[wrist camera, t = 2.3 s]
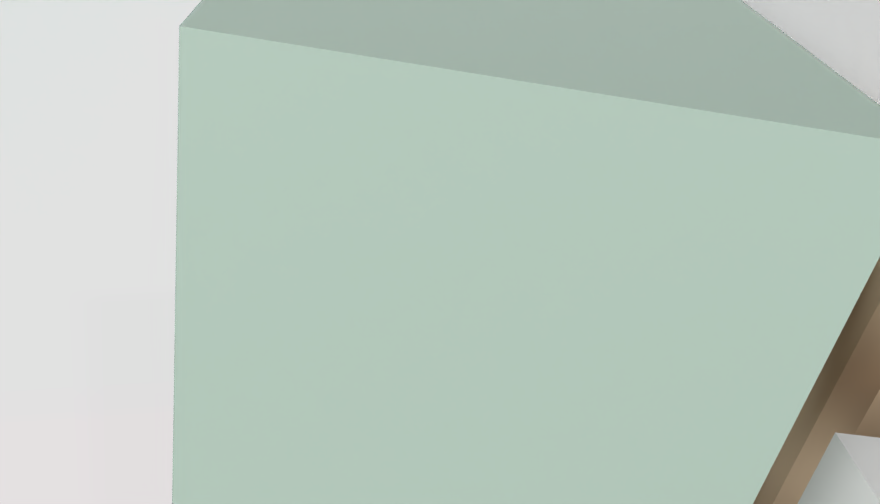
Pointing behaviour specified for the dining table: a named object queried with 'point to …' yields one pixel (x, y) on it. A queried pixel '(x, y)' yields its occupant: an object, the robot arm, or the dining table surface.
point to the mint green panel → (506, 249)
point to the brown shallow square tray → (834, 401)
